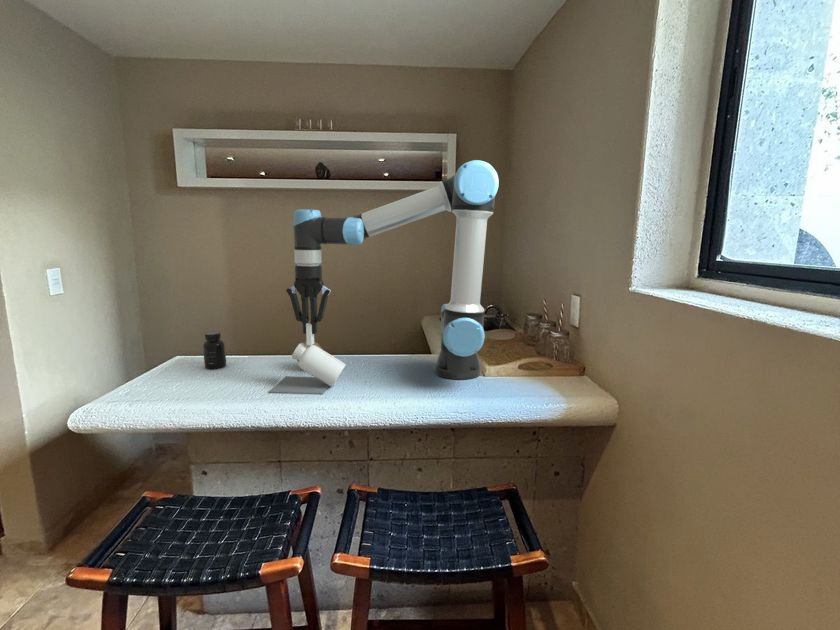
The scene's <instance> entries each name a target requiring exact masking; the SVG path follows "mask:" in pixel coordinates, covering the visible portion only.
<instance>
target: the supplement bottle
mask: <svg viewBox="0 0 840 630" xmlns="http://www.w3.org/2000/svg"><path fill="white" fill-rule="evenodd" d="M221 338H222V335H221V331H209V332H206V333H204V340H205V341H204V342H203V343H202V351H203V360H204V367H205V369H206V370H212V371H215V370H220V369H223V368H225V367H226V366H227V357H226V356H227V355H226V347H225V346H226V345H225V341H224V340H223V339H221Z"/></svg>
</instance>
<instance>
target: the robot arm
mask: <svg viewBox="0 0 840 630" xmlns="http://www.w3.org/2000/svg"><path fill="white" fill-rule="evenodd" d="M499 181H500V180H499V176H498V172H497V171H496V170H495V168H494V167H493V166H492V165H491V164H490V163H489V162H486V161H483V160H479V159H475V160H474V159H473V160H470V161H467V162H465V163H463V164H462V165H460V166H459V167H458V169H457V171H456V172H455V174H454V175H452V176H451V177H448V178H446V179H444V180H441V181H440V182H439V184H437V186H434V187H431V188H429V189H426V190H423V191H421V192H418V193H415V194H412V195H409V196H406V197H404V198H401V199H399V200H396V201H393V202H389V203H388V204H385V205H382V206H379V207H376V208H373V209H370V210H368V211H365V212H363V213H359V214H356V215H353V216H349V217H326V216H322V213H321V211H320V210H319V209H296V210H295V211H294V212H293V224H292V227H293V241H294V242H293V244H294V246H293V247H294V250H293V251H294V254H293V255H294V264H296V265H295V266H294V278H295V280H294V282H293V285H292V286H291V287H289V288H286V293H287V295H288V296H289V297H290V301H291V306H292V308H293V313H294V316H295V319H296V321H297V322H301V323H302V332H303V334H306V335H305V336H306V340H305V341H307V345H310V346H311V345H313V344H314V342H315V335H316V334H317V333H318V322H321V321H323V320H324V316H325V312H326V308H327V303H328V299H329V295H330V294H331V293H332V289H331V288H328V287H326V286H325V284H324V281H323V269H322V268H323V267H322V265H321V264H322V263H323V261H322V245H345V246H346V245H348V246H354V245H359V246H360V245H361V244H363V242H364V240H365V239H368V238H370V237H373V236H376V235H378V234H382V233H384V232H387V231H391V230H392V229H393V230H394V229H395V228H398V227H401V226H404V225H407V224H410V223H413V222H415V221H418V220H421V219H424V218H428V217H431V216H432V215H433V216H434V215H436V214H438V213H442V212H445V211H447V212H449V213H451V212H452V214H454V216H455V217H456V218H455V219H456V224H455V233H454V234H455V235H454V250H453V261H452V276H451V287H450V300H449V302H448V303H444V304H442V306H441V308H440V309H441V310H440V316H441V317H440V351H439V354H438V357H437V360H436V363H435V370H434V371H435V372H434V373H435V374H436V375H437V376H438V377H442V378H445V379H451V380H470V379H475V378H478V377H480V376H481V375H482V365H481V364H482V363H481V361H480V357H479V354H478V352H479V351H480V350H481V349H482V347H483V345H484V343H485V338H486V334H485V330H484V321H485V312H486V311H485V308H484V307H483V306H482V305H481V294H482V285H483V283H482V282H483V273H484V272H483V271H484V263H485V262H484V260H485V251H486V250H485V249H486V238H487V228H488V226H487V225H488V219H489V218H491V216H492V215H493V214H494V210H495V202H496V200H495V198H496V195H497V192H498V189H499V186H500V185H499ZM297 292H298V294H299V295H300V301H301V306H300V301H299V297H298V294H297ZM320 292H321V295H322V296H321V299H320V304H319V307H318V295H320ZM309 301H310V302H309ZM309 303H310V304H309ZM309 305H310V306H309ZM309 307H310V309H309ZM309 310H310V311H309ZM309 312H310V314H309ZM309 315H310V316H309Z"/></svg>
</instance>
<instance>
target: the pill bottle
mask: <svg viewBox="0 0 840 630" xmlns="http://www.w3.org/2000/svg"><path fill="white" fill-rule="evenodd" d="M321 348H322V347H321ZM321 348H319V347H317V346H316V345H311V346H309V347H307V345H305V344H304V343H303V342H300V343H299V344H297V346H296V347H295V349H294V351H293V352H292V354H291V358H292V359H293V360H296V361H297V360H299V362H298V367H299V368H300V369H301V370H303V371H305V372H306V373H308V374H310V375H311V376H312V377H316V378H318V379H319V380H321V381H322V382H324V383H326V384H327V385H329V387H333V386H334V385H335V384H336V383H337V380H338V379H339V378H340V376H341V374H342V372H344V370H345V368H346V363H344V362H343V361H342V360H340V359H338V358H337V357H335V356H333V355H332V354H330V353H329V352H327V351H325V350H324V349H323V348H322V349H321Z"/></svg>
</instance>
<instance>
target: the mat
mask: <svg viewBox="0 0 840 630" xmlns="http://www.w3.org/2000/svg"><path fill="white" fill-rule="evenodd" d="M329 387H330V386H329V385H327V384H326V383H324V382H322V381H321V380H319V379H318V378H316V377H314V376H298V375H297V376H295V375H294V376H293V375H292V376H291V375H289V376H288V375H286V376H284V377H283V378H282V379H281V380H280V381H279V382H277V383H276V384H275V385H273V387H272V388H271V389H269V390H268V391H267V393H269V394H289V395H290V394H291V395H292V394H293V395H294V394H295V395H324V393H326V391H327V390H328V388H329Z"/></svg>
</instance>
